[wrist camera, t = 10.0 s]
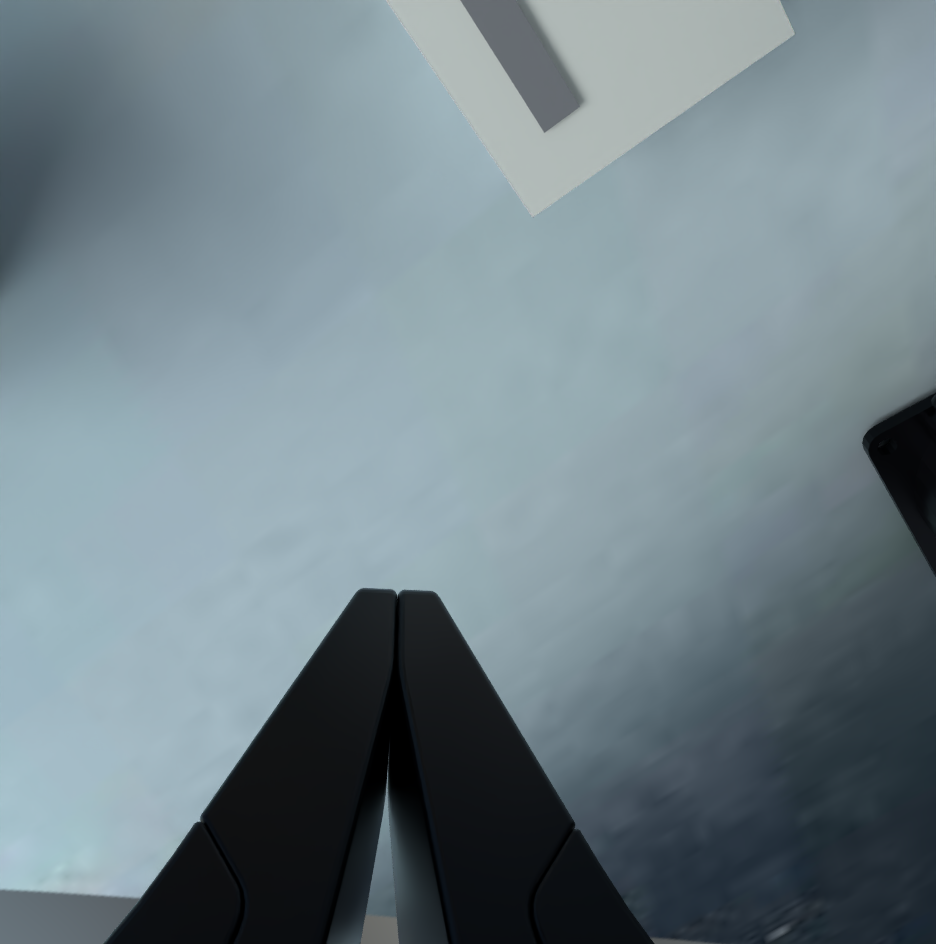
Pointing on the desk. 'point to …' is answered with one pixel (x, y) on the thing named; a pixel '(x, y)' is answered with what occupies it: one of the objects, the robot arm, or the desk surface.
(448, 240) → the desk surface
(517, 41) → the white cube
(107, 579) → the desk surface
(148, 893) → the robot arm
